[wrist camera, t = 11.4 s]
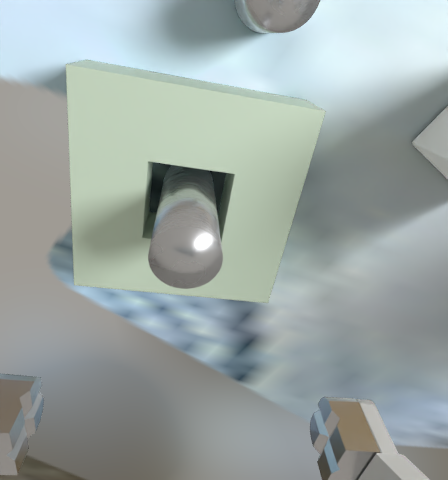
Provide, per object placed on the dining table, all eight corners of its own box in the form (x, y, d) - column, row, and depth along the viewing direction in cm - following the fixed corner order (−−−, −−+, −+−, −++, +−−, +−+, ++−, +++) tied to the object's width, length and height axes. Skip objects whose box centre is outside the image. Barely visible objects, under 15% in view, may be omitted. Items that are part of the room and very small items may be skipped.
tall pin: (216, 164, 25) (228, 231, 17) (209, 209, 27) (216, 291, 18) (166, 156, 25) (150, 221, 16) (161, 203, 26) (145, 285, 18)
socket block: (306, 100, 23) (325, 111, 20) (259, 272, 30) (267, 303, 27) (86, 59, 21) (65, 64, 18) (88, 254, 28) (74, 285, 25)
